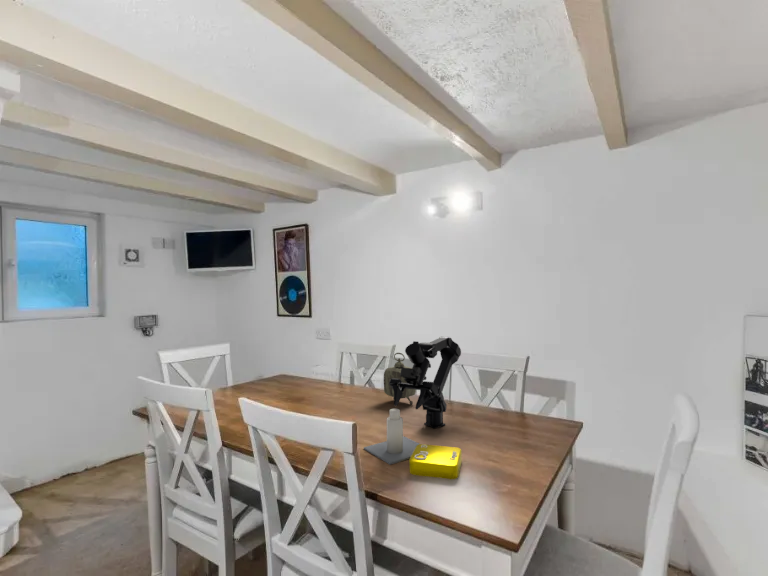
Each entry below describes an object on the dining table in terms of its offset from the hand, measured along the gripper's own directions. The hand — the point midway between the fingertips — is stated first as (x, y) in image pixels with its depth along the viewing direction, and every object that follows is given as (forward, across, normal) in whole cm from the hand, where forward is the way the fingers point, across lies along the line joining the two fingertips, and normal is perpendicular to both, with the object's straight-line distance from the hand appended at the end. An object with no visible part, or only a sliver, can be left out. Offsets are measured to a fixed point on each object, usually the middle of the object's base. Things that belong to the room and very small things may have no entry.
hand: (405, 407), depth 147 cm
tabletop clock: (-20, -31, +39) cm, 54 cm away
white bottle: (+15, 0, +3) cm, 15 cm away
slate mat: (+14, 0, +5) cm, 15 cm away
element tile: (+18, +17, +3) cm, 25 cm away
